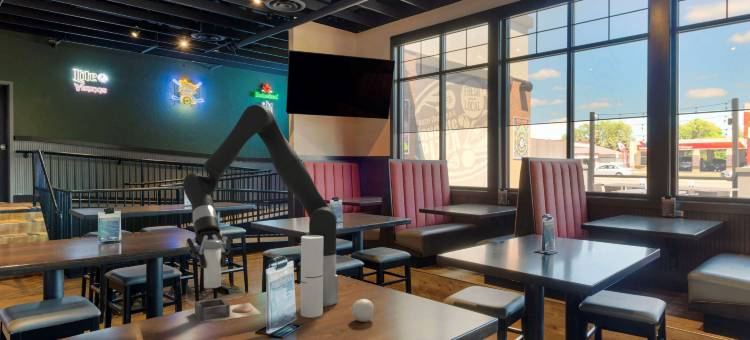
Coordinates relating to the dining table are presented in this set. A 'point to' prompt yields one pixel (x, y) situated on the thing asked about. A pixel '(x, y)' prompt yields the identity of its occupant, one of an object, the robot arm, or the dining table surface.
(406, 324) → the dining table surface
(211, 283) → the cylinder
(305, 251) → the cylindrical container
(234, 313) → the socket board
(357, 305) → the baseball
